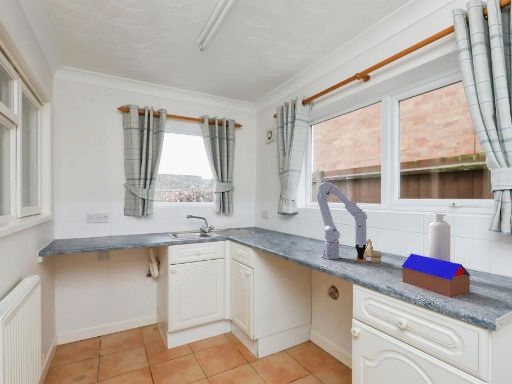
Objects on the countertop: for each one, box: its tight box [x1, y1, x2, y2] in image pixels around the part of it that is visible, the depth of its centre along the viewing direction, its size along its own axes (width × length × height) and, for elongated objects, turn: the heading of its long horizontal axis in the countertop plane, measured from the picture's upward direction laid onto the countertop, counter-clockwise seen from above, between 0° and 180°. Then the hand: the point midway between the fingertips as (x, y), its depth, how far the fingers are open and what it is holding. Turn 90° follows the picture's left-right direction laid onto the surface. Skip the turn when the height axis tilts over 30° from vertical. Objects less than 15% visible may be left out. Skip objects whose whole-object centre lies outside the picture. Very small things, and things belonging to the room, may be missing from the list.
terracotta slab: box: [356, 253, 367, 263], centre depth 153 cm, size 5×5×3 cm
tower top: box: [370, 249, 382, 259], centre depth 151 cm, size 5×5×3 cm
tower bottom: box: [370, 257, 382, 265], centre depth 151 cm, size 5×5×3 cm
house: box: [401, 253, 472, 299], centre depth 110 cm, size 12×20×12 cm, turn 24°
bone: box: [364, 238, 376, 258], centre depth 171 cm, size 10×10×15 cm
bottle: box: [428, 213, 451, 262], centre depth 125 cm, size 8×8×28 cm
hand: (360, 258), depth 154 cm, fingers closed on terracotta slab, 5 cm apart
